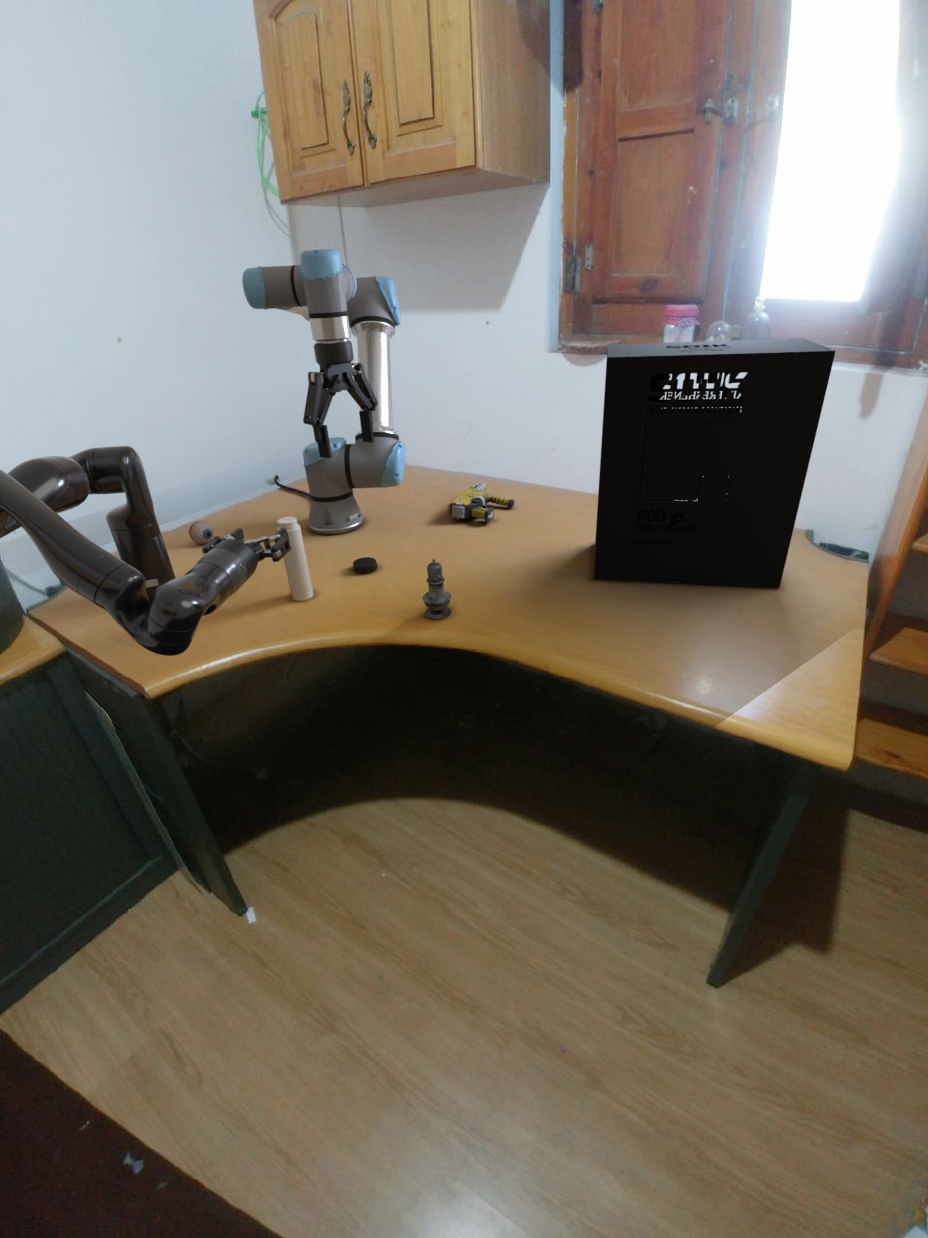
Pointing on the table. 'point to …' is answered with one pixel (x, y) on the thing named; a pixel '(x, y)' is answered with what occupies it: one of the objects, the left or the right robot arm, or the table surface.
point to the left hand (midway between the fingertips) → (263, 532)
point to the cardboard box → (706, 459)
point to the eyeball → (201, 532)
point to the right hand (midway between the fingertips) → (348, 449)
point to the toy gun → (476, 504)
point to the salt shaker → (436, 593)
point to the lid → (364, 565)
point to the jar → (296, 561)
